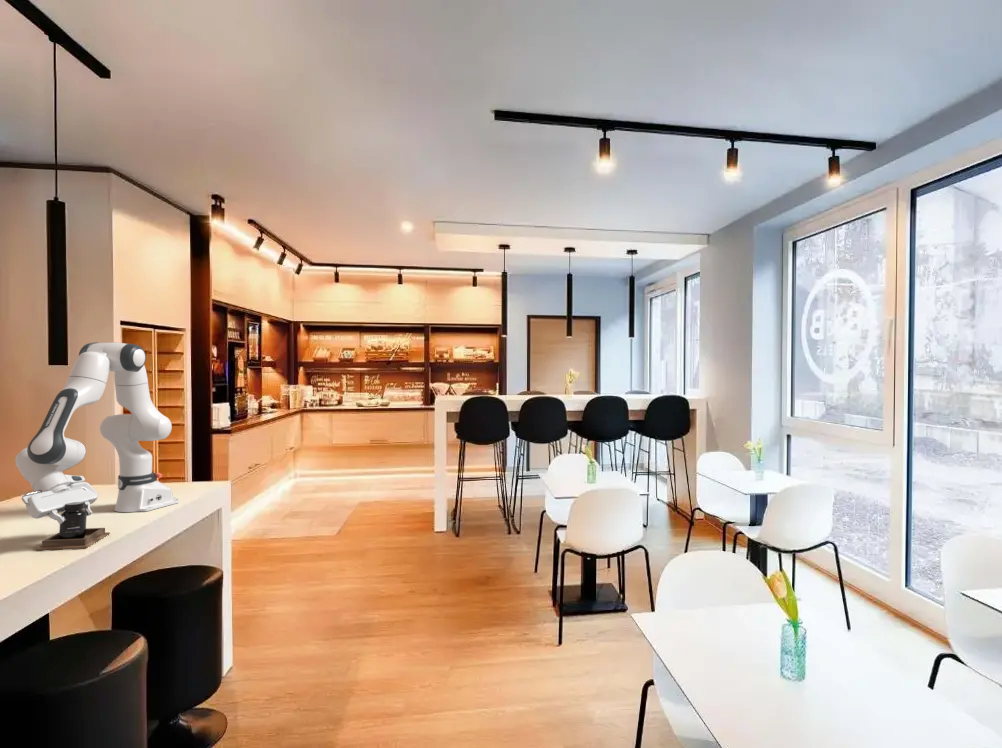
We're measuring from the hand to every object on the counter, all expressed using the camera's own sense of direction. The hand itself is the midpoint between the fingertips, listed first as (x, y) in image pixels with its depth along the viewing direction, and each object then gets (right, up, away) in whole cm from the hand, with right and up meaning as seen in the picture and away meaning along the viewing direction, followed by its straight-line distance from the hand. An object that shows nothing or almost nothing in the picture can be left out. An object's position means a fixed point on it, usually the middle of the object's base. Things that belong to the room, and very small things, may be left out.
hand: (76, 518), depth 171 cm
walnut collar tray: (-1, -8, 0) cm, 8 cm away
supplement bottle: (-1, -7, -1) cm, 7 cm away
